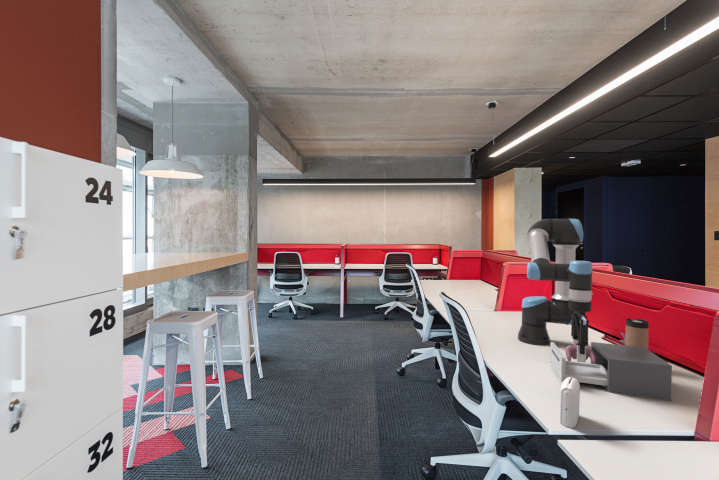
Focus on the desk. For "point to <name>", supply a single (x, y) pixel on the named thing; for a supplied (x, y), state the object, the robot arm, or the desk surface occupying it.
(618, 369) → the box
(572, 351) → the video game controller
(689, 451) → the desk surface
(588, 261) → the robot arm
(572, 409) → the photo printer
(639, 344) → the travel mug
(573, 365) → the light grey drawer
